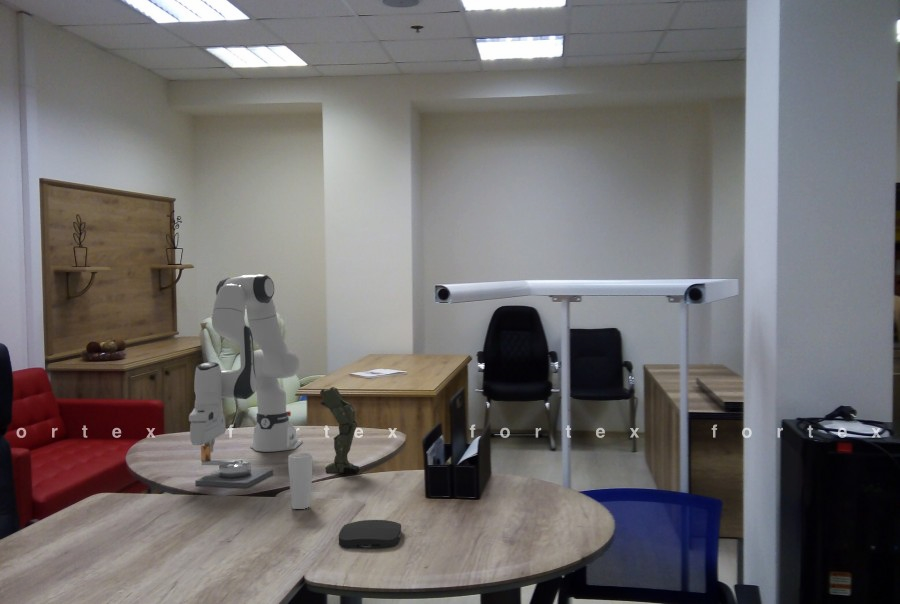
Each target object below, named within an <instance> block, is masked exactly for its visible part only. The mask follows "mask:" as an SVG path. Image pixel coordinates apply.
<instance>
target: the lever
mask: <svg viewBox="0 0 900 604" xmlns="http://www.w3.org/2000/svg"><path fill="white" fill-rule="evenodd" d="M211 454H212V453H211V447H210V445H204V444H203V445H200V462H201V466H218V470H219V476H220V477H225V478H236V477H243V476H247V475H249V474H251V469H252V463H251V462H248V461H244V459H241V458H240V459H236V460H234V459H232V460H230V459H229V460H227V459H226V460H223V459H222V460H218V459H217V460H215V459H211V458H212V457H211Z"/></svg>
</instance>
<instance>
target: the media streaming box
mask: <svg viewBox="0 0 900 604" xmlns="http://www.w3.org/2000/svg"><path fill="white" fill-rule="evenodd" d="M401 537H402V524H401V523H399V522H396V521H392V520H387V519H365V520H359V521H357V520H356V521H353V522H350V523H346V524H344V525H343V526H342V528H341V529H340V531H339V534H338V546H339V547H341V548H344V549H387V548H389V549H390V548H393V547H396V546H397V545H398V544H399V543H400V540H401Z"/></svg>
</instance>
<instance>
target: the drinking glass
mask: <svg viewBox="0 0 900 604" xmlns="http://www.w3.org/2000/svg"><path fill="white" fill-rule="evenodd" d="M287 459H288V460H287V461H288V462H287V469H288V480H289V491H290V501H291V502H290V503H291V506H290V507H291V509H293V510H295V509H304V508H307V509H309V508H310V507H311V502H312V501H311V497H312V496H311V495H312V484H313V483H312V482H313V469H314V468H313V465H314V463H313V454H312V453H309V452H295V453H291V454H289V455H288V458H287ZM308 507H309V508H308ZM304 510H305V509H304Z"/></svg>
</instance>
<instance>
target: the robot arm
mask: <svg viewBox="0 0 900 604" xmlns="http://www.w3.org/2000/svg"><path fill="white" fill-rule="evenodd" d="M274 284H275V283H274V281H273V280H272V278H271V277H270V276H269V275H266V274H262V273H261V274H260V273H258V274H243V275H239V276H235V277H227V278H223V279H222V280H220V281H219V282H218V284H217V285H216V288H215V295H216V297H215V300H214V305H213V310H212V314H211V315H212V316H211V325H212V329H213V331H214V332H216V333H217V335H219V336H220V337H222V338H224V339H226V340H229V341H232V342H233V343H236V344H238V346H239V359H240V360H239V361H240V367H239V369H226V370H225V369H221V365H220V364H219V363H217V362H215V361H214V362H213V361H208V362H203V363H200V364H198V365H196V368H195V372H194V384H193V386H194V387H193V388H194V389H193V391H194V394H195V400H194V407H193V409H192V411H191V412H190V413H189V415H188V421H189V422H190V426H189V434H190V443H191V444H192V445H193V446H202V445H210V447H211V454H212V453H214V446H215V443H216V438H218V437H220V436H223V435H224V434H225V433H226V431H227V430H226V429H227V426H226V425H227V424H226V416H225V413H223V412H224V410H223V399H237V400H248V399H249V398H251V397H252V396H253V395H254V394H255V392H256V399H257V413H256V425H255V426H254V427H253V439H252V444H250V449H253V451H256V452H262V453H263V452H267V453H269V452H271V453H272V452H281V451H289V450H290V451H291V450H295V449H297V448H298V447H299V446H300V445H301V444H302V443H303V442H304V441H303V439H301V438H297V437H298V436H297V435H298V434H297V429H296V427H295V426H294V425H293V424H292V422H290V421H289V420H290V419H289V418H290V417H291V415H292V412H291V411H290V410H289V411H287V394H286V390H285V389H283V387H282V386H281V385H280V383H279V380H278V379H283V380H284V379H287V378H291V377H294V376H296V375H297V373H298V371H299V368H300V360H299V358H298V356H297V355H296V354H295V353H294V352H293V351H292V350H291V349H290V348H289V347H288V345H287V343H286V341H285V340H284V338H283V335H282V333H281V329H280V325H279V320H278V315H277V311H276V307H275V306H276V305H275V303H274V300H273V296H274V294H275V285H274ZM245 317H247V323H248V326H247V324H246V320H245ZM254 343H255V344H257V345H258V346H259V348H260V349H256V350H254Z"/></svg>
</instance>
